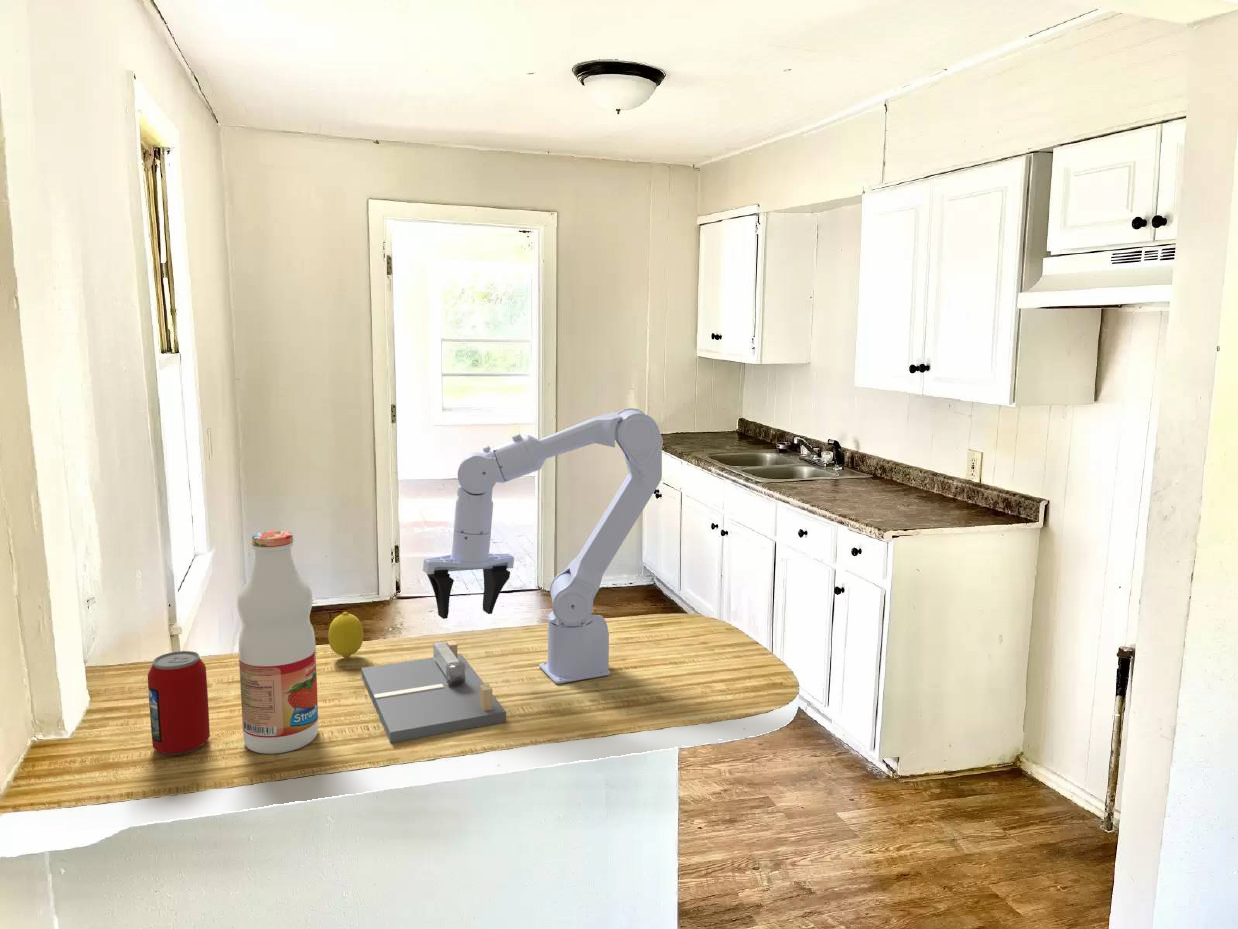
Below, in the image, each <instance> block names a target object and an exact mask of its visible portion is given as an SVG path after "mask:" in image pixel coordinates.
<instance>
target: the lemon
mask: <svg viewBox="0 0 1238 929" xmlns="http://www.w3.org/2000/svg"><path fill="white" fill-rule="evenodd" d="M327 634H328V637H327V638H328V644H329V647H330V648H331V650H332V651H333V652H334V653H335V654H336V655H338V656H341V657H343V658H344V659H349V658H350V657H351V656H352V655H354V654H355V653H357V652H358V651H359V650H360V648H361V647H362V645H363V642H364V630H363V625H362V623H361V621H360V619H359V618H358V617H357V616H355V615H353V614H351V613H348V611H343V612H342V614H339V615H337V616H336V617H334V619H333V620H332V622H330V625H329V628H328V633H327Z"/></svg>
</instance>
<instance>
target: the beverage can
mask: <svg viewBox="0 0 1238 929" xmlns="http://www.w3.org/2000/svg"><path fill="white" fill-rule="evenodd" d="M147 688H148V690H147V691H148V703H149V704H148V705H149V718H150V729H151V731H150V733H151V741H152V743H151V744H152V747H153V749H154V750H155V751H157V752H158V753H159V752H160V753H163V754H166V755H170V756H171V755H172V756H177V755H183V754H188V753H191V752H193V751H195V750H197V749H199V748H200V747H201V746H202V745H204V744H205V743H206V742H208V740H209V739H210V738H211V737H210V736H211V734H210V733H211V732H210V731H211V730H210V715H209V714H210V713H209V694H208V692H209V691H208V680H207V666H206V664H205V663H204V662H203V659H201V658H200V654H199V653H198V652H197V651H196V652H195V651H191V650H182V651H181V650H180V651H179V650H178V651H172V652H167V653H164V654H162V655H159V656H157V657H155V658H154V659H153V661H152V666H151V667H150V669H149V670H148V673H147Z"/></svg>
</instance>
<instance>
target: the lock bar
mask: <svg viewBox="0 0 1238 929" xmlns="http://www.w3.org/2000/svg"><path fill="white" fill-rule="evenodd" d="M432 644H433V645H432V646H433V647H432V648H433V657H434V659H435V661H436V662H437V664H438V665H439V667H440V668H441V670H442V671H443V673H444V674H445V675H446V682H447V683H448V684H450V685H459V684H462V683H464V682H465V664H464V663H462V662H459V660H458V659H457V658H456V656H455V655H454V654H453V652H452V651H451V650H450V648H449V647H448V646H447V644H446V642H445V641H440V642H434V643H432Z"/></svg>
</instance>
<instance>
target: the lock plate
mask: <svg viewBox="0 0 1238 929" xmlns="http://www.w3.org/2000/svg"><path fill="white" fill-rule="evenodd" d="M445 643H446V644H447V646H448V647H449V648H450V650H451V651H452V652H453V654H454V655H455V656H456V658H457V659H458V660H459V662H462V663H464V664H465V682H464V683H462V684H459V685H450V684H448V683H447V682H446V675H445V674H444V673H443V671H442V670H441V668H440V667H439V665H438V664H437V662H436V661H435V659H434V656H433V657H428V658H420V659H413V660H408V661H399V662H393V663H386V664H380V665H379V664H378V665H372V666H365V667H361V668H360V669H361V679H362V681H363V684H364V685H365V686H364V687H365V688H366V690H367V693H368V694H369V697H370V699H372V700H371V702H372V703H373V704H372V705H373V706H374V708H376V709H375V711H376V714H377V715H379V716H378V718H379V720H380V723H381V725H382V726H383V729H384V731H386V732H385V733H386V736H387V739H388V741H389V740H390V741H389V743H390V744H392V743H398V741H399V742H402V741H408V740H409V741H410V740H414V739H419V738H420V739H421V738H426V737H431V736H436V735H442V734H447V733H451V732H452V733H453V732H458V731H464V730H468V729H474V728H479V727H485V726H490V725H496V724H501V723H506V722H507V711H506V710H505V708H504V707H503V706H502V704H501V703H500V702H499V700H498V699H497V698H496V697H495V695H494V694H493V688H492V687H491V685H490V683H485V682H484V681H483V680H482V678H481V677H480V676H479V675H478V673H477V672H476V671H475V669H473V667H472V666H471V664H470V663H469V661H468V660H466V658H465V657H464V655H463V654H462V653H458V643H457V642H456V641H455V640H447V641H446V642H445Z"/></svg>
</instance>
